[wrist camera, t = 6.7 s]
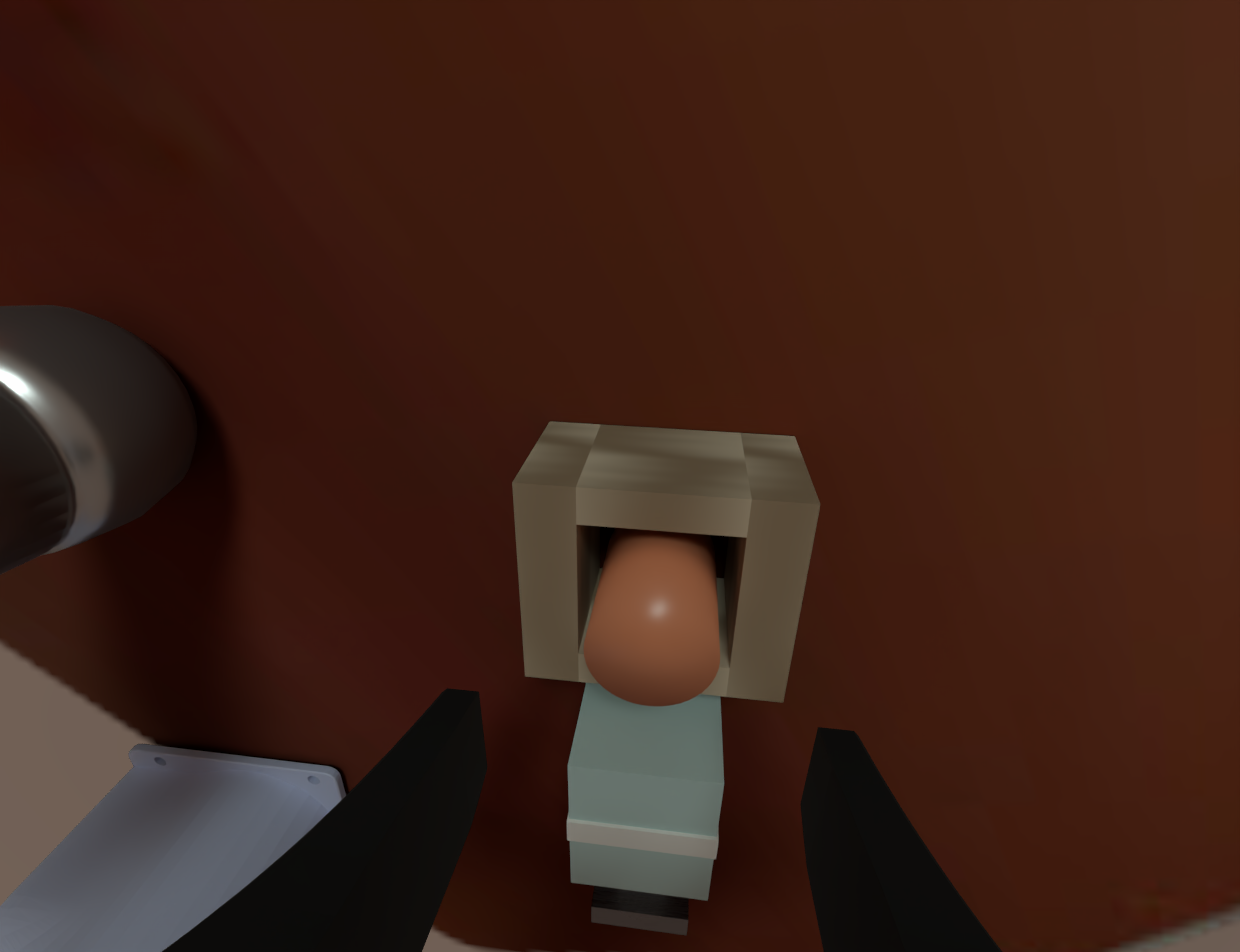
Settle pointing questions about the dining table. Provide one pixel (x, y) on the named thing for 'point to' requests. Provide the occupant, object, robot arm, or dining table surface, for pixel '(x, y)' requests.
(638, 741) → the block
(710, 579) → the button
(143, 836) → the robot arm
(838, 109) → the dining table surface
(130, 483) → the plastic bottle
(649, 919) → the rail
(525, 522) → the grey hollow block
